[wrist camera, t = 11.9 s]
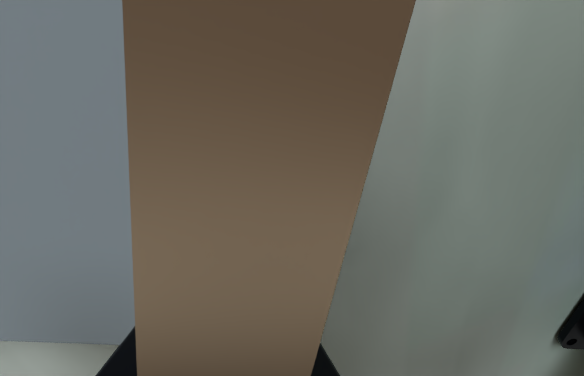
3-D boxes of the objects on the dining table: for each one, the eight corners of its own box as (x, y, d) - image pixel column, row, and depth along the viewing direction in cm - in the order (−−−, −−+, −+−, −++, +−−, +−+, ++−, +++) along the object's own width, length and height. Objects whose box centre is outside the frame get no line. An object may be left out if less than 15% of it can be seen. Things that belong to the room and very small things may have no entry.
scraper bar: (241, 461, 15) (237, 638, 11) (172, 459, 14) (147, 641, 11) (369, -242, 6) (514, -354, 2) (195, -278, 6) (103, -457, 2)
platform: (221, 289, 21) (218, 348, 19) (-89, 273, 19) (-137, 335, 17) (286, -273, 11) (298, -304, 9) (-348, -421, 9) (-560, -513, 7)
